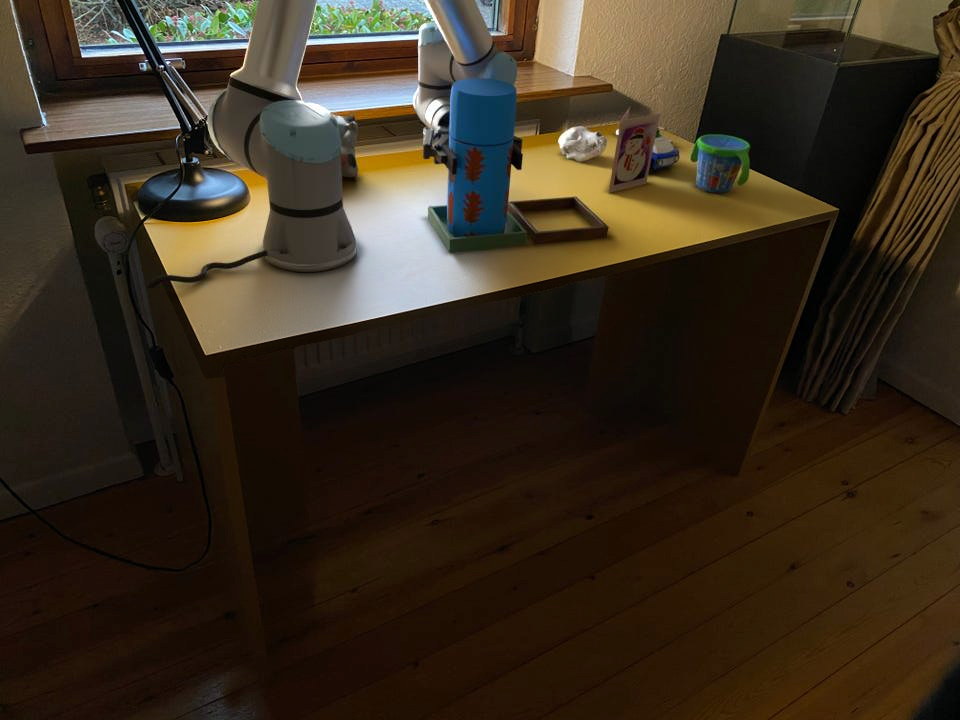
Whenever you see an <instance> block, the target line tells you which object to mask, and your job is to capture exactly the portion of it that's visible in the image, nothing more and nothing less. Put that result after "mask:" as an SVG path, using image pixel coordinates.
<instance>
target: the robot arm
mask: <svg viewBox="0 0 960 720" xmlns="http://www.w3.org/2000/svg"><path fill="white" fill-rule="evenodd" d="M318 1H319V0H257V4H256V9H255V13H254V17H253V21H252V26H251V30H250V34H249V39H248V41H247V42H248V43H247V47H246V51H245V55H244V60H243V64H242V66H241V67H240V68H239V69H237V70H235V71H233V72H232V73H231V74H230V75H229V78H228V83H227V88H226V89H224V90H222V91H221V92H220V93H219V94H217V95H215V97H214V98H213V99H212V100H211V103H210V105H209V108H208V112H207V118H206V119H207V121H206V123H207V130H208V132H209V137H210V140H211V141H212V143H213V144H214V145H215V147H216V149H218V151H219V152H221V154H223V155H225V157H227V158H228V159H229V160H230V161H232V162H233V163H234V164H237V165H238V166H242V167H244V168H246V169H247V170H250V171H251V172H253V173H255V174H257V175H259V176H260V177H262V178H264V179H265V180H266V186H267V195H268V202H269V213H268V216H267V221H266V225H265V230H264V233H263V239H262V250H261V251H258V252H256V253H252V254H250V255H247V256H245V257H242V258H240V259H237V260H235V261H232V262H231V261H230V262H221V261H220V262H217V261H215V262H209V263H207V264H205V265H203V266H202V268H201V270H200V273H199V274H197V275H194V276H182V275H174V274H163V275H159V276H156V277H154V278H153V279H152V280H151V281H150V282H149V283H148V284H147V285H146V289H153V288H156V286H157V285H159V284H161V283H163V282H174V283H175V282H177V283H184V284H185V283H186V284H193V283H197V282H201V281H203V280H204V279H205V278H206V276H207V275H208V272H209V271H211V270H213V269H222V270H223V269H224V270H227V269H228V270H229V269H230V270H231V269H235V268H238V267H241V266H244V265H245V264H247V263H250V262H253V261H256V260H259V259H261V258H264V259H265V261H267V262H268V263H269V264H271V265H272V266H273V267H276V268H279V269H282V270H286V271H290V272H291V271H292V272H300V273H315V272H316V273H317V272H324V271H329V270H332V269H335V268H336V269H337V268H339V267H341V266H343V265H345V264H347V263H348V262H350V261H351V260H353V258H354V257H355V255H356V253H357V240H356V236H355V234H354V230H353V227H352V224H351V223H350V220H349V218H348V216H347V214H346V210H345V208H344V199H343V196H344V194H343V176H342V170H341V138H340V132H339V126H338V122H337V120H336V118H335V116H336V115H334V114H333V113H332V112H331V111H330V110H329V109H327V108H326V107H323V106H321V105H320V104H317V103H314V102H304V100H303V98H302V96H301V93H300V92H299V89H298V87H297V84H298V79H299V76H300V71H301V67H302V63H303V59H304V56H305V52H306V48H307V44H308V41H309V37H310V36H309V35H310V34H311V33H310V32H311V29H312V25H313V21H314V16H315V13H316V8H317V5H318ZM423 2H424V3H425V5H426V7H427V9H428V10H429V12H430V14H431V16H432V18H433V20H434V21H431V22H430V21H429V22H425V23H423V24H422V25H421V26H420V27H419V30H418V31H419V32H418V45H417V52H418V53H417V54H418V57H417V58H418V59H417V61H418V68H417V69H418V79H417V80H418V83H417V89H416V91H415V93H414V94H413V99H412V106H413V109H414V111H415V113H416V115H417V117H418V119H419V120H420V121H421V122H422V123H423V124H424V125H425V126H424V127H423V130H422V131H423V132H422V134H423V135H422V137H423V139H422V142H423V143H422V159H423V160H429V159H431V158H433V164H434V165H440V164H442V165H444V166H445V168H446V169H447V171H448V170H449V171H450V172H451V174H452V175H453V174H457V158H456V156H455V155H454V154H453V153H452V152H451V150H450V149H449V133H450V132H449V128H450V97H451V89H452V84H453V83H454V82H456V81H459V80H464V79H475V78H482V79H493V80H499V81H503V82H507V83H510V84H512V85H513V86H515V83H516V81H517V77H518V65H517V61H516V60H515V57H513V56H512V55H511V54H508V53H506V51H502V50H501V51H500V50H499V48H498V47H497V45H496V43H495V41H494V39H493V36H492V34H491V32H490V29H489V28H488V25H487V23H486V21H485V19H484V16H483V14H482V12H481V10H480V8H479V5H478V4H477V1H476V0H423ZM513 138H514V139H513V151H512V163H511V166H512V167H513V168H514V169H515V170H517V171H522V169H523V159H524V158H523V157H524V154H523V151H522V150H523V139H522V138H521V137H518V136H516V135H514V137H513ZM436 139H437V141H436V142H435V140H436ZM433 144H434V145H433ZM153 389H154V393H155V397H156V401H157V405H158V409H159V411H160V416H161V420H162V425H163V427H164V431H165V434H166V438H167V442H168V447H169V449H170V453H171V457H172V461H173V465H174V468H175V469H174V470H175V474H176V480H177V481H178V482H182V481H183V480H184V478H183V477H184V476H183V472H182V469H181V462H180V460H179V455H178V451H177V447H176V443H175V439H174V436H173V431H172V427H171V423H170V420H169V416H168V413H167V409H166V406H165V405H166V404H165V401H164V397H163V394H162V389H161V385H154V386H153Z"/></svg>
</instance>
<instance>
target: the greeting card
mask: <svg viewBox="0 0 960 720" xmlns="http://www.w3.org/2000/svg"><path fill="white" fill-rule="evenodd" d="M630 109H631V106H629V107H628V109H627V110H626V112H625V113H624V115H623V116H622V118H621V119H620V121H619V127H618V129H619V133H618V135H617V140H616V146H615V151H614V157H613V162H612V168H611V170H612V171H611V175H610V180H609V187H608V194H610V193H614V192H618V191H622V190H625V189H630V188H634V187H638V186H642V185H646V184H647V183H648V177H649V173H650V172H649V167H650V162H651V157H652V152H653V147H654V142H655V137H656V132H657V127H658V126H659V121H660V118H661V117H660V116H661V113H656V114H651V115H649V114H648V115H645V116H639V117H634V118H629V116H630Z"/></svg>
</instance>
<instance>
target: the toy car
mask: <svg viewBox="0 0 960 720" xmlns="http://www.w3.org/2000/svg"><path fill="white" fill-rule="evenodd" d="M666 130H667V127H665V126H661V125H658V127H657V132H656V137H655V142H654V147H653V152H652V157H651V162H650V167H649V172H648V173H651V172H654V171H656V169H661V168H667V167H672V166H673V165H675V164H676V163H678V161H680V158H681V157H680V150H679V149H678V148H676V147H674V144H673V145H672V144H671V143H670V141H671V140H670V139H668V138H667V136H666V135H664V134H662V133H660V131H666ZM669 140H670V141H669Z"/></svg>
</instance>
